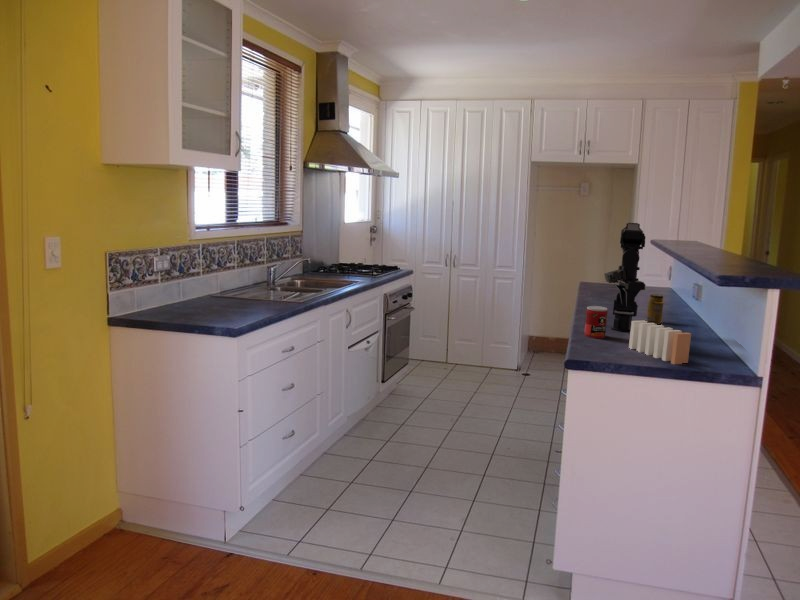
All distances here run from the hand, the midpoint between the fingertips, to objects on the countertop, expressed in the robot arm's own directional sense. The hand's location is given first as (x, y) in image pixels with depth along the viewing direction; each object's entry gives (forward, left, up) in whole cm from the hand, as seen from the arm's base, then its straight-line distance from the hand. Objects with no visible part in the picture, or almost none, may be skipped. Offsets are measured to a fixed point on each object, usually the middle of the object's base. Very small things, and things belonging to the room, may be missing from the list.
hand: (625, 305), depth 245 cm
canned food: (+6, -8, -13) cm, 17 cm away
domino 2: (+6, +17, -13) cm, 22 cm away
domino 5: (+7, +29, -13) cm, 33 cm away
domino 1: (+6, +13, -13) cm, 19 cm away
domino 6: (+8, +33, -13) cm, 36 cm away
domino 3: (+7, +21, -13) cm, 26 cm away
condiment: (-41, -23, -13) cm, 49 cm away
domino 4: (+7, +25, -13) cm, 29 cm away
